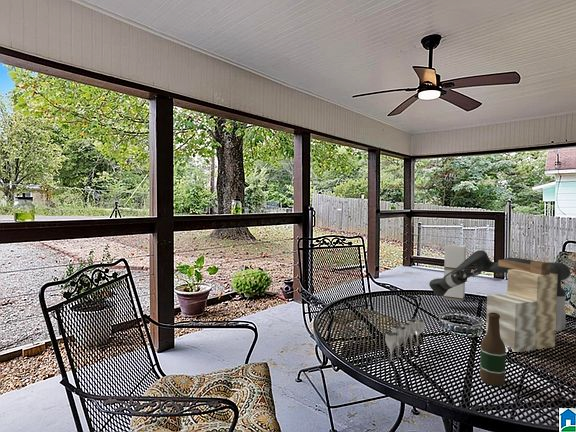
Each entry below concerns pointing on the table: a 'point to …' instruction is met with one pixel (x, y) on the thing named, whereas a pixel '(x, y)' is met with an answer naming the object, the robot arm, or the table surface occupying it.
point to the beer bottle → (493, 354)
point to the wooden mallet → (527, 266)
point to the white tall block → (452, 261)
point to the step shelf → (526, 310)
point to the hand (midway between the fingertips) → (476, 268)
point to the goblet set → (404, 333)
